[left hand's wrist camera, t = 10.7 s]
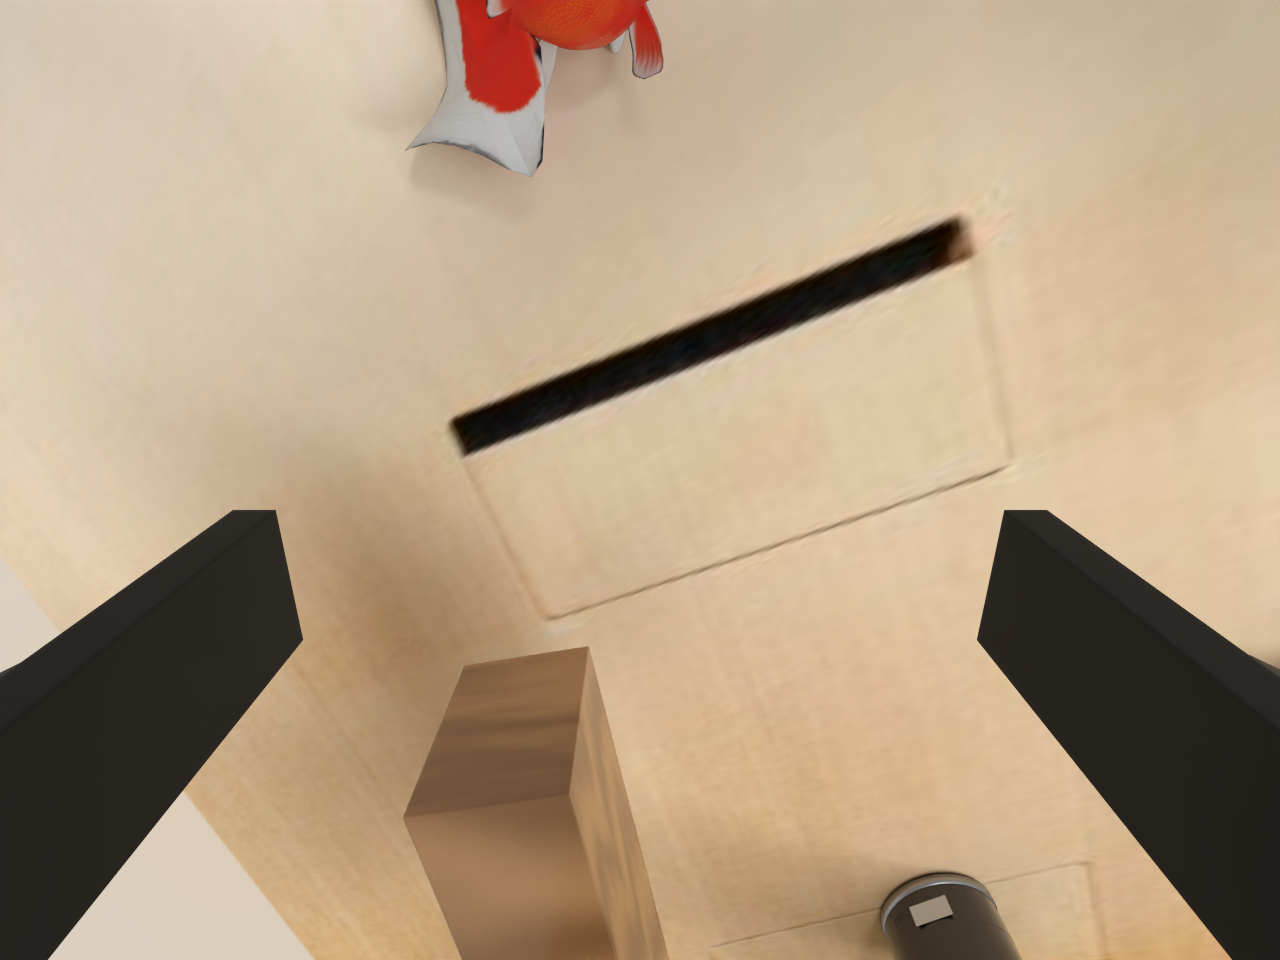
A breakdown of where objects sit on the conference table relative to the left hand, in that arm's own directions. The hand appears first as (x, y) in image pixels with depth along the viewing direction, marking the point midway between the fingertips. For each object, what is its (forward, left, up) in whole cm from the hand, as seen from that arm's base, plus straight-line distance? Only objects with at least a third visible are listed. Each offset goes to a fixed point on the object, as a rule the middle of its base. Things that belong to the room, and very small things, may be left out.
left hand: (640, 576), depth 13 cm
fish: (-12, -8, -29) cm, 33 cm away
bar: (+24, +3, -16) cm, 29 cm away
